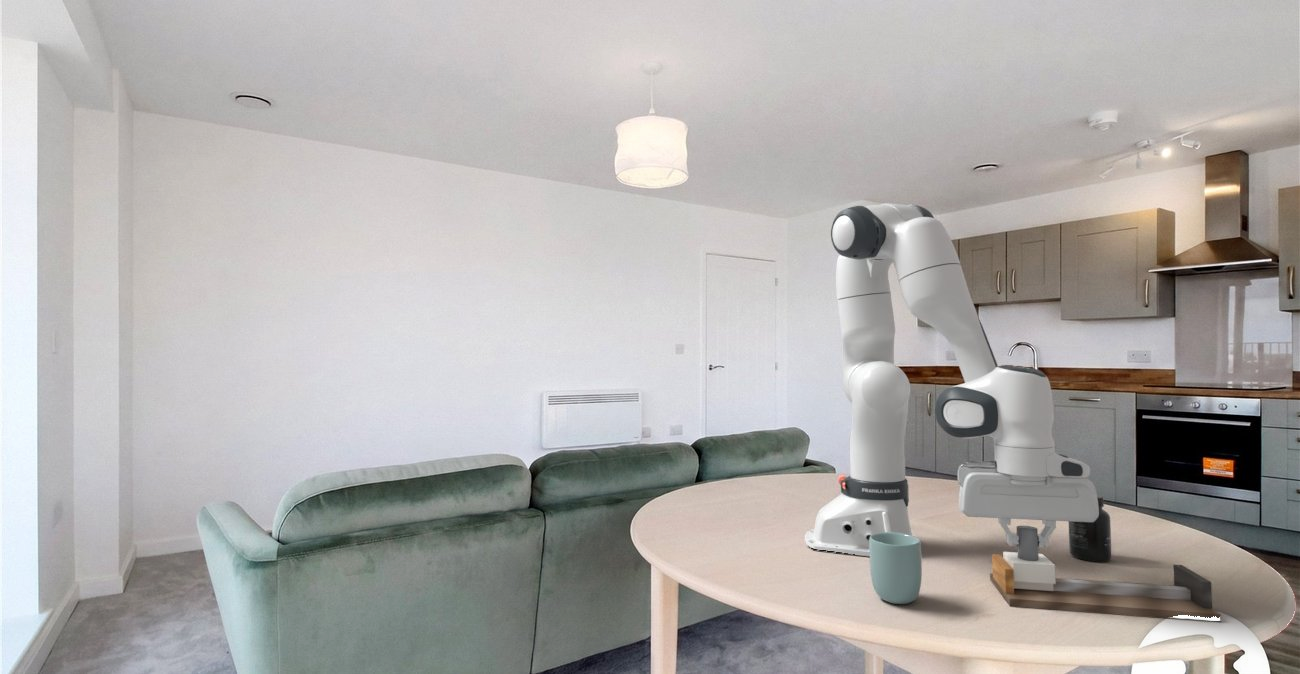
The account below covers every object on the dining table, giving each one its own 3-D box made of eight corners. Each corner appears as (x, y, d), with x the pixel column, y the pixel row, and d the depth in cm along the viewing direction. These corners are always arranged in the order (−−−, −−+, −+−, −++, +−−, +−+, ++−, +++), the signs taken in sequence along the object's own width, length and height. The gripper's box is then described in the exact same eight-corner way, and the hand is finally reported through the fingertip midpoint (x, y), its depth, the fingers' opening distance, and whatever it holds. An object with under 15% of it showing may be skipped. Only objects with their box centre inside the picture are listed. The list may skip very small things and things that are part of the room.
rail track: (1009, 606, 100) (1008, 573, 101) (990, 580, 112) (989, 550, 112) (1221, 622, 93) (1219, 586, 93) (1176, 592, 105) (1175, 561, 105)
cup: (896, 612, 99) (894, 548, 99) (861, 595, 106) (859, 535, 106) (933, 604, 102) (931, 541, 102) (896, 588, 109) (894, 529, 109)
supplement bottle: (1119, 563, 120) (1116, 499, 120) (1079, 562, 121) (1076, 498, 121) (1101, 552, 126) (1098, 492, 127) (1063, 551, 128) (1061, 491, 128)
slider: (1014, 590, 103) (1012, 531, 103) (1004, 578, 109) (1002, 522, 109) (1055, 593, 101) (1053, 533, 102) (1043, 580, 107) (1041, 524, 108)
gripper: (960, 463, 106) (963, 547, 105) (1101, 467, 100) (1105, 555, 100) (953, 457, 112) (955, 536, 111) (1085, 460, 106) (1088, 543, 106)
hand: (1027, 545), depth 105 cm, fingers closed on slider, 3 cm apart
